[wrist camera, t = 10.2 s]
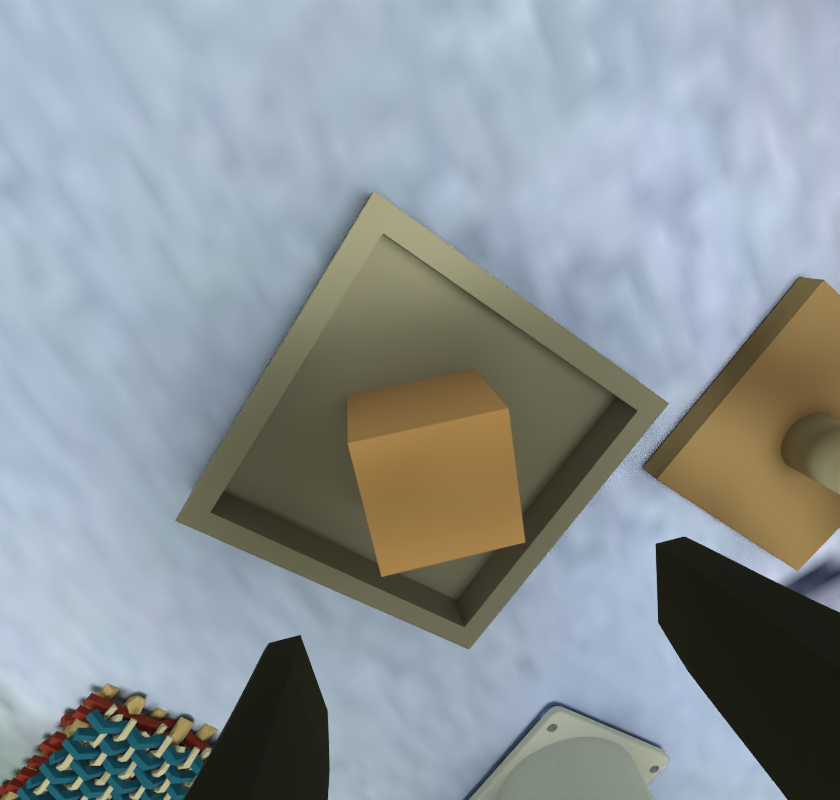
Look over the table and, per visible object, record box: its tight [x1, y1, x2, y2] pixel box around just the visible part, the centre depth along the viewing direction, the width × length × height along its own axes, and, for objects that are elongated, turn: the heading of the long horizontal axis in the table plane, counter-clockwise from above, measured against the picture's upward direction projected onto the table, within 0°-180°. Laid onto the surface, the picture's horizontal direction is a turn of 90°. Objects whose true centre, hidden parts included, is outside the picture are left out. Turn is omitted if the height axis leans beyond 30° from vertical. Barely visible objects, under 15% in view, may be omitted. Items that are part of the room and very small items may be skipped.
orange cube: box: [347, 369, 525, 577], centre depth 17 cm, size 4×4×4 cm
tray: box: [175, 191, 669, 649], centre depth 18 cm, size 12×12×2 cm
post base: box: [643, 277, 840, 571], centre depth 19 cm, size 9×9×4 cm
